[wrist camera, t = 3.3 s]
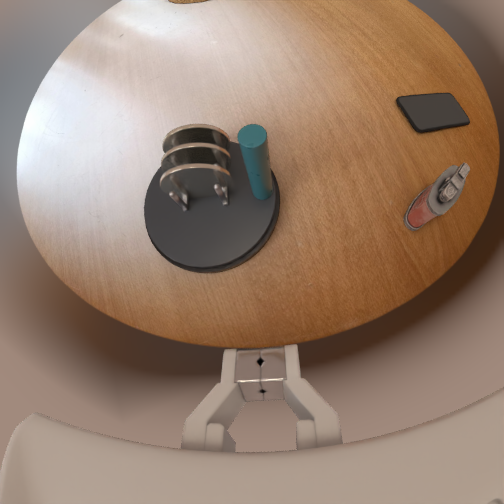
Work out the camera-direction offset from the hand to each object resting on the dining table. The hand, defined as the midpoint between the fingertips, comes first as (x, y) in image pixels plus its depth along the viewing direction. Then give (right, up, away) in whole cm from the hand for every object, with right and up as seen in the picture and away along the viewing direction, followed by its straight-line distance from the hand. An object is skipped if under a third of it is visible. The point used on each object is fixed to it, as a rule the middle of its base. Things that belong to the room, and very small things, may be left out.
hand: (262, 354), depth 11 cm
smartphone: (+31, +28, +24) cm, 48 cm away
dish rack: (-6, +11, +23) cm, 26 cm away
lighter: (+23, +10, +21) cm, 33 cm away
